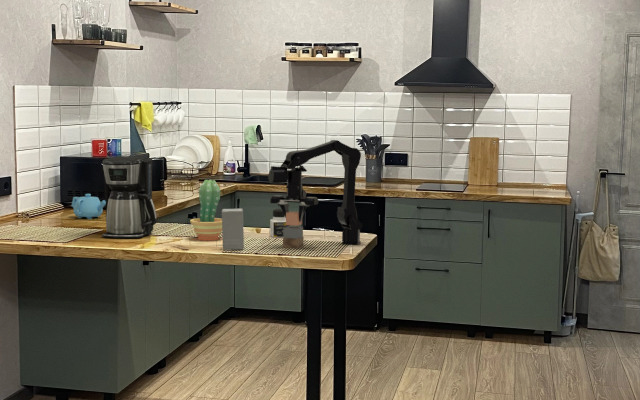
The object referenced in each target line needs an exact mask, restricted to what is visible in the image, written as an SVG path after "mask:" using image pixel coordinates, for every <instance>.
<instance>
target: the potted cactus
mask: <svg viewBox="0 0 640 400" xmlns="http://www.w3.org/2000/svg"><path fill="white" fill-rule="evenodd" d="M198 200H199V203H200V204H199V205H200V210H199V212H200V213H199V217H198V218H192V219H190V222H189V223H190V225H191V226H192V227H193V230H194V233H195V234H196V235H197V240H198V239H199V240H198V241H207V240H208V241H216V240H219V236H220V235H221V233H222V218H218V217H216V213H217V206H218V205H219V202H220V200H221V187H220V186H219V185H218V183H217V182H216V180H215V179H214V180H212V179H209V180H208V179H205V180H204V181H203V182H202V184H200V186H199V188H198Z"/></svg>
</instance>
